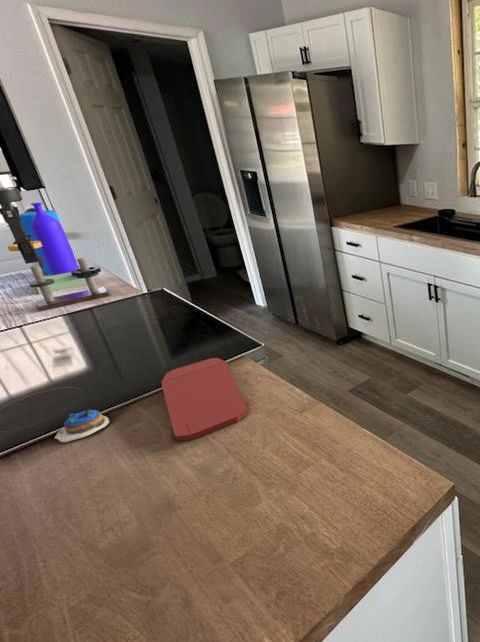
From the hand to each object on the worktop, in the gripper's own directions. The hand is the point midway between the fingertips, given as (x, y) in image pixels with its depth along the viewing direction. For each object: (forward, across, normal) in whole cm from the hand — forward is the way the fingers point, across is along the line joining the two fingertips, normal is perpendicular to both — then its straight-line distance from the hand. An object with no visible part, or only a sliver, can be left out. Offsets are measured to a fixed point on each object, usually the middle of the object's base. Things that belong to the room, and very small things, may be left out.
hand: (31, 260), depth 135 cm
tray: (+17, +26, -4) cm, 31 cm away
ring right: (+7, -1, -11) cm, 13 cm away
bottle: (+17, +39, -6) cm, 43 cm away
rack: (+16, -1, -6) cm, 17 cm away
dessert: (+16, -96, 0) cm, 97 cm away
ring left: (-4, 0, 0) cm, 4 cm away
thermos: (+17, +50, -5) cm, 53 cm away
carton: (+16, -104, -19) cm, 107 cm away
